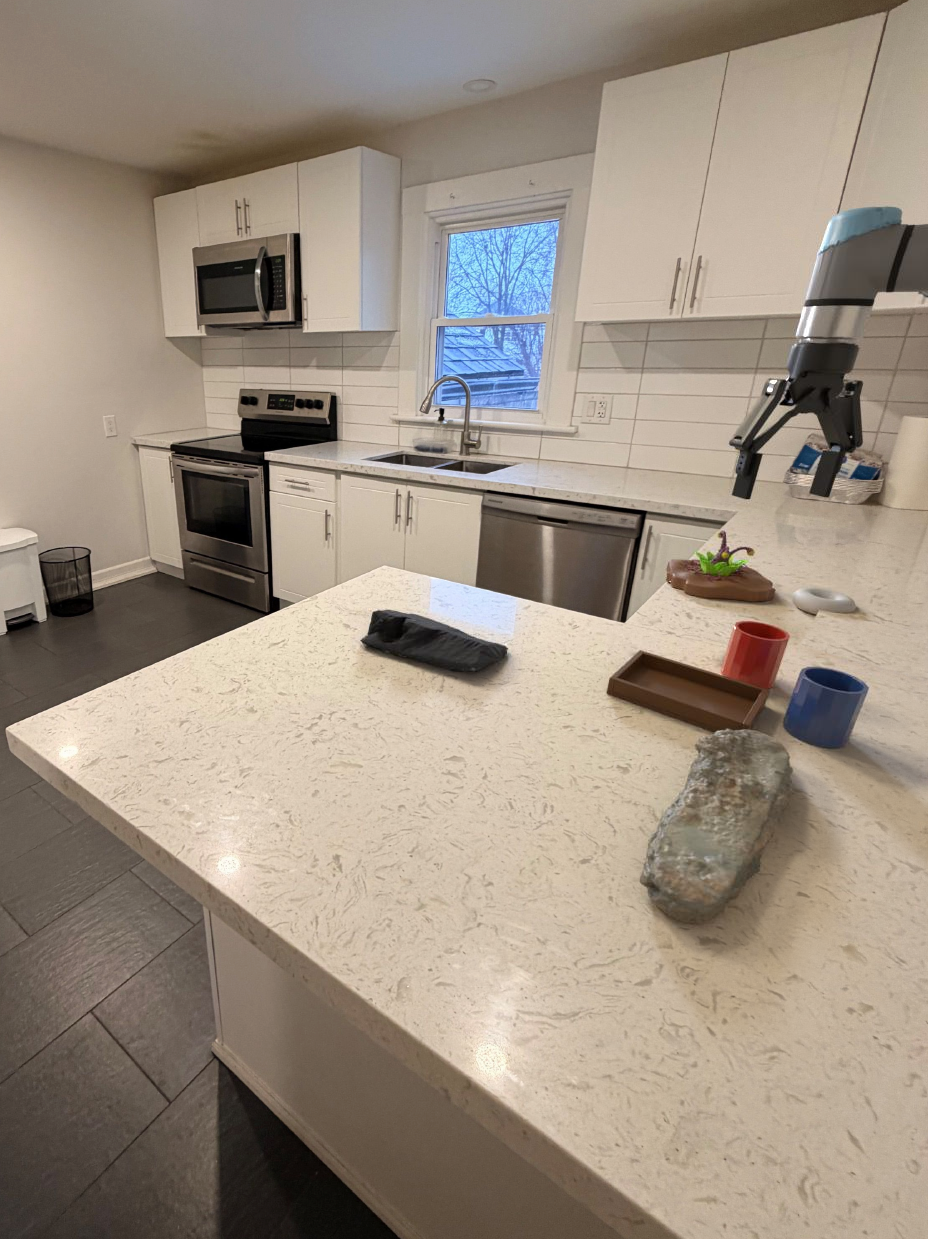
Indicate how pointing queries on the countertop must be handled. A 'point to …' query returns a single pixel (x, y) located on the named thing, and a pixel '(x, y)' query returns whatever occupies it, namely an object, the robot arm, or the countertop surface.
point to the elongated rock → (717, 824)
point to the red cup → (755, 653)
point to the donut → (822, 600)
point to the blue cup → (824, 707)
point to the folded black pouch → (430, 641)
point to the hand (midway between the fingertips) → (780, 496)
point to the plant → (720, 576)
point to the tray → (688, 693)
